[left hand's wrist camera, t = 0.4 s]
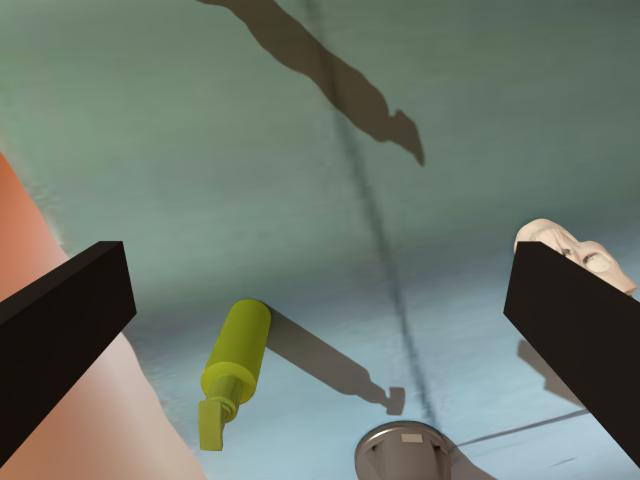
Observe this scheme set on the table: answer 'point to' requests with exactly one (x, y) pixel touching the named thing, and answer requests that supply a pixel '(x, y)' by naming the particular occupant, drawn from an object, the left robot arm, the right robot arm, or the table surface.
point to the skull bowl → (578, 252)
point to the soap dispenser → (232, 369)
